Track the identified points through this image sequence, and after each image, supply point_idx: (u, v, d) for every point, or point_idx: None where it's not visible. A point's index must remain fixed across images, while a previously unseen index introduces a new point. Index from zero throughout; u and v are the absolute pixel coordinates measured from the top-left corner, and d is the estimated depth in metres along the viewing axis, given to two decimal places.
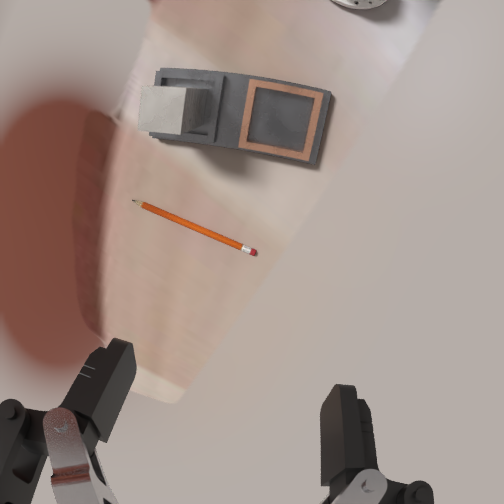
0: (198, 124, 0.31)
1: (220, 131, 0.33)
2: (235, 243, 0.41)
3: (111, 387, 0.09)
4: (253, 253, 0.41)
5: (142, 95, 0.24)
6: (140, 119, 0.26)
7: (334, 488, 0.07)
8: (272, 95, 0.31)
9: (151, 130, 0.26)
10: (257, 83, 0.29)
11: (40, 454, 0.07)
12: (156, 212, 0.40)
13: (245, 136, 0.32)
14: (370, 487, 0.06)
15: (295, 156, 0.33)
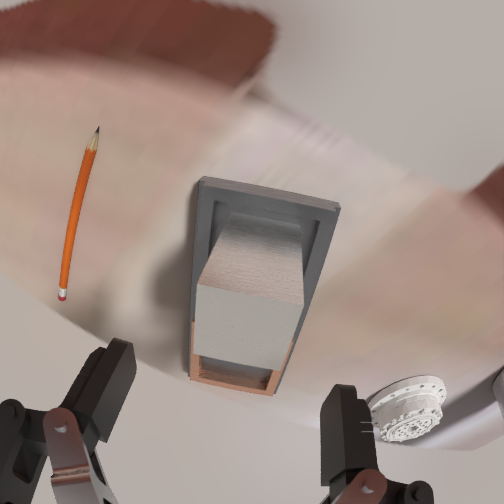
0: None
1: None
2: (65, 282, 0.25)
3: (111, 387, 0.09)
4: (60, 299, 0.27)
5: (280, 304, 0.12)
6: (223, 294, 0.13)
7: (334, 488, 0.07)
8: None
9: (198, 311, 0.13)
10: None
11: (40, 454, 0.07)
12: (80, 177, 0.20)
13: None
14: (370, 487, 0.06)
15: (192, 371, 0.26)
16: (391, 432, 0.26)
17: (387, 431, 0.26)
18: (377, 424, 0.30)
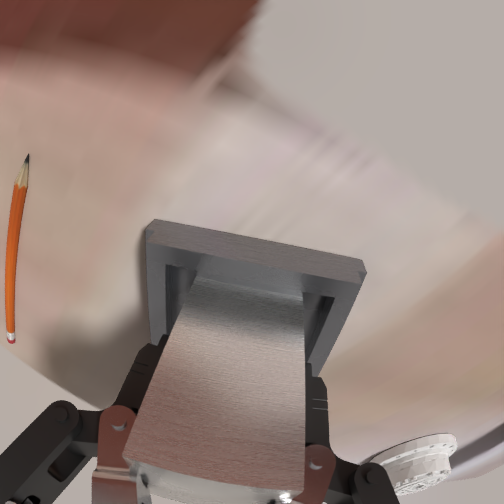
0: None
1: None
2: (11, 327, 0.18)
3: None
4: (9, 341, 0.19)
5: (263, 490, 0.06)
6: (166, 473, 0.06)
7: None
8: None
9: None
10: None
11: (83, 457, 0.07)
12: (11, 219, 0.13)
13: None
14: (317, 463, 0.07)
15: None
16: None
17: None
18: None
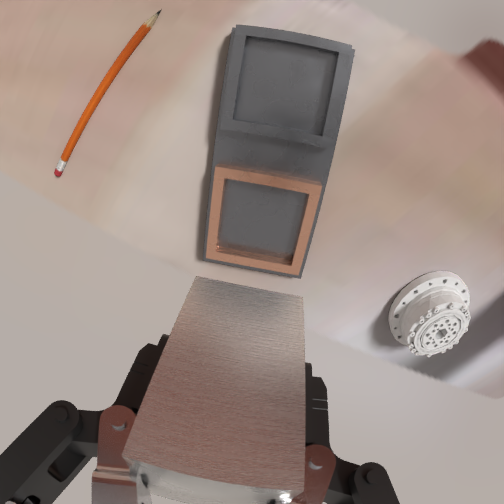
0: None
1: (239, 135, 0.22)
2: (68, 153, 0.24)
3: None
4: (56, 174, 0.25)
5: (264, 490, 0.06)
6: (166, 472, 0.06)
7: None
8: (294, 210, 0.24)
9: None
10: (314, 196, 0.22)
11: (83, 457, 0.07)
12: (127, 47, 0.19)
13: (232, 177, 0.22)
14: (317, 463, 0.07)
15: (209, 242, 0.25)
16: (419, 337, 0.26)
17: (415, 335, 0.26)
18: (400, 339, 0.30)
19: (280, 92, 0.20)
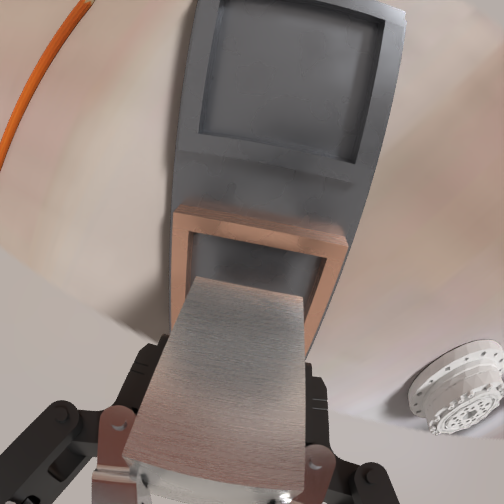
0: None
1: (213, 159, 0.13)
2: None
3: None
4: None
5: (264, 490, 0.06)
6: (166, 472, 0.06)
7: None
8: (302, 276, 0.16)
9: None
10: (334, 261, 0.14)
11: (83, 457, 0.07)
12: (58, 33, 0.10)
13: (201, 229, 0.14)
14: (317, 463, 0.07)
15: (174, 318, 0.17)
16: (444, 421, 0.17)
17: (440, 420, 0.17)
18: (419, 413, 0.22)
19: (282, 85, 0.11)
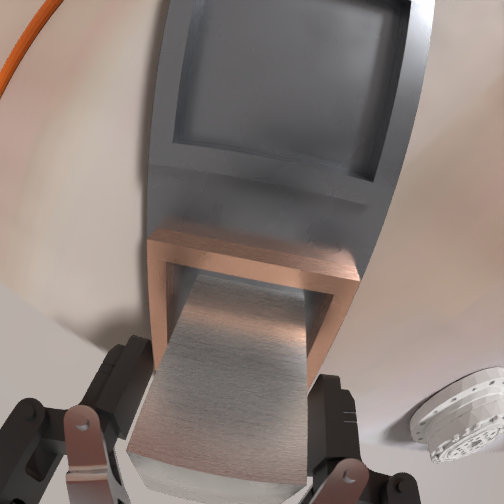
0: None
1: (194, 173, 0.10)
2: None
3: (131, 383, 0.09)
4: None
5: (267, 485, 0.06)
6: (170, 467, 0.06)
7: (317, 477, 0.08)
8: None
9: (139, 469, 0.06)
10: (342, 298, 0.11)
11: (56, 454, 0.07)
12: (25, 32, 0.08)
13: (181, 260, 0.11)
14: (351, 477, 0.07)
15: (157, 354, 0.14)
16: (447, 452, 0.15)
17: (443, 451, 0.15)
18: (421, 440, 0.19)
19: (280, 78, 0.09)
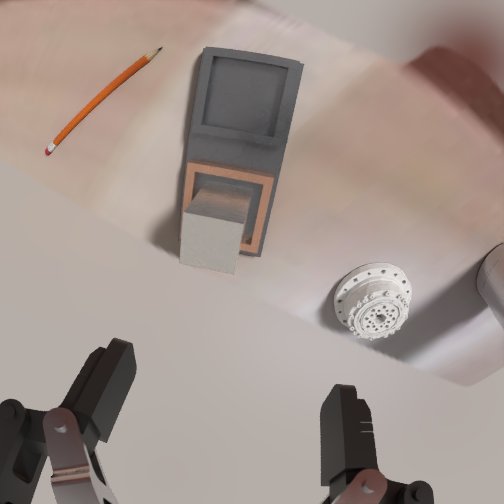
0: None
1: (207, 137, 0.27)
2: (60, 140, 0.28)
3: (111, 387, 0.09)
4: (46, 152, 0.28)
5: (230, 224, 0.22)
6: (197, 218, 0.22)
7: (334, 488, 0.07)
8: (253, 198, 0.29)
9: (183, 231, 0.23)
10: (267, 186, 0.28)
11: (40, 454, 0.07)
12: (127, 71, 0.24)
13: (201, 170, 0.27)
14: (370, 487, 0.06)
15: None
16: (358, 320, 0.32)
17: (354, 318, 0.32)
18: (346, 323, 0.36)
19: (240, 102, 0.25)
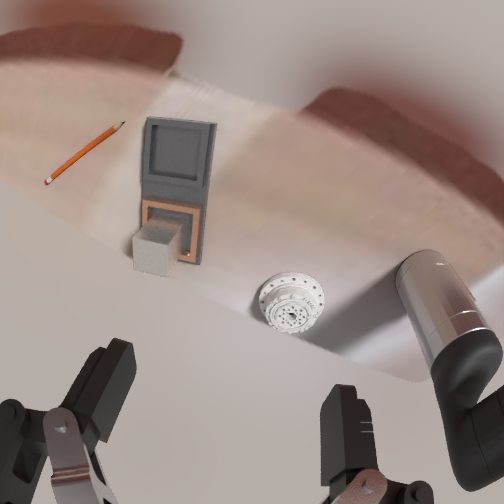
0: None
1: (155, 181, 0.38)
2: (55, 176, 0.39)
3: (111, 387, 0.09)
4: (45, 183, 0.40)
5: (160, 245, 0.33)
6: (141, 241, 0.33)
7: (335, 488, 0.07)
8: (189, 223, 0.41)
9: (133, 249, 0.34)
10: (196, 215, 0.39)
11: (40, 454, 0.07)
12: (101, 136, 0.36)
13: (151, 205, 0.39)
14: (370, 487, 0.06)
15: None
16: (273, 317, 0.43)
17: (269, 315, 0.43)
18: None
19: (174, 155, 0.36)
